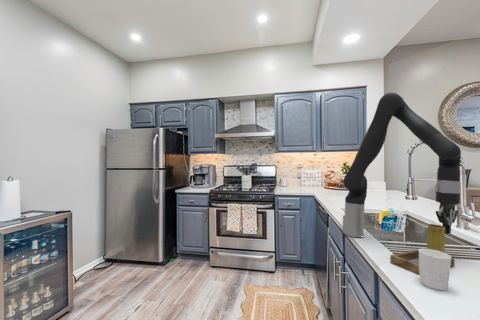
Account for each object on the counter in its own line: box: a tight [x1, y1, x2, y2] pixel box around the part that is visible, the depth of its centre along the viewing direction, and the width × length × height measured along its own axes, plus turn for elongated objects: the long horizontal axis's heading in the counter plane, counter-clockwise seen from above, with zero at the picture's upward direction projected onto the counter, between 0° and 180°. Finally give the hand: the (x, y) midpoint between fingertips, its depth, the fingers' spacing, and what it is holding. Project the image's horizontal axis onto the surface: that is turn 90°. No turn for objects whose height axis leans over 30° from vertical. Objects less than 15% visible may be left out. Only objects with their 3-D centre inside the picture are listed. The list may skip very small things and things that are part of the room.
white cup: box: [418, 248, 452, 291], centre depth 72 cm, size 8×8×10 cm
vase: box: [425, 223, 446, 253], centre depth 91 cm, size 6×6×14 cm
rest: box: [389, 248, 456, 276], centre depth 87 cm, size 11×21×3 cm, turn 115°
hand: (446, 233), depth 94 cm, fingers closed
